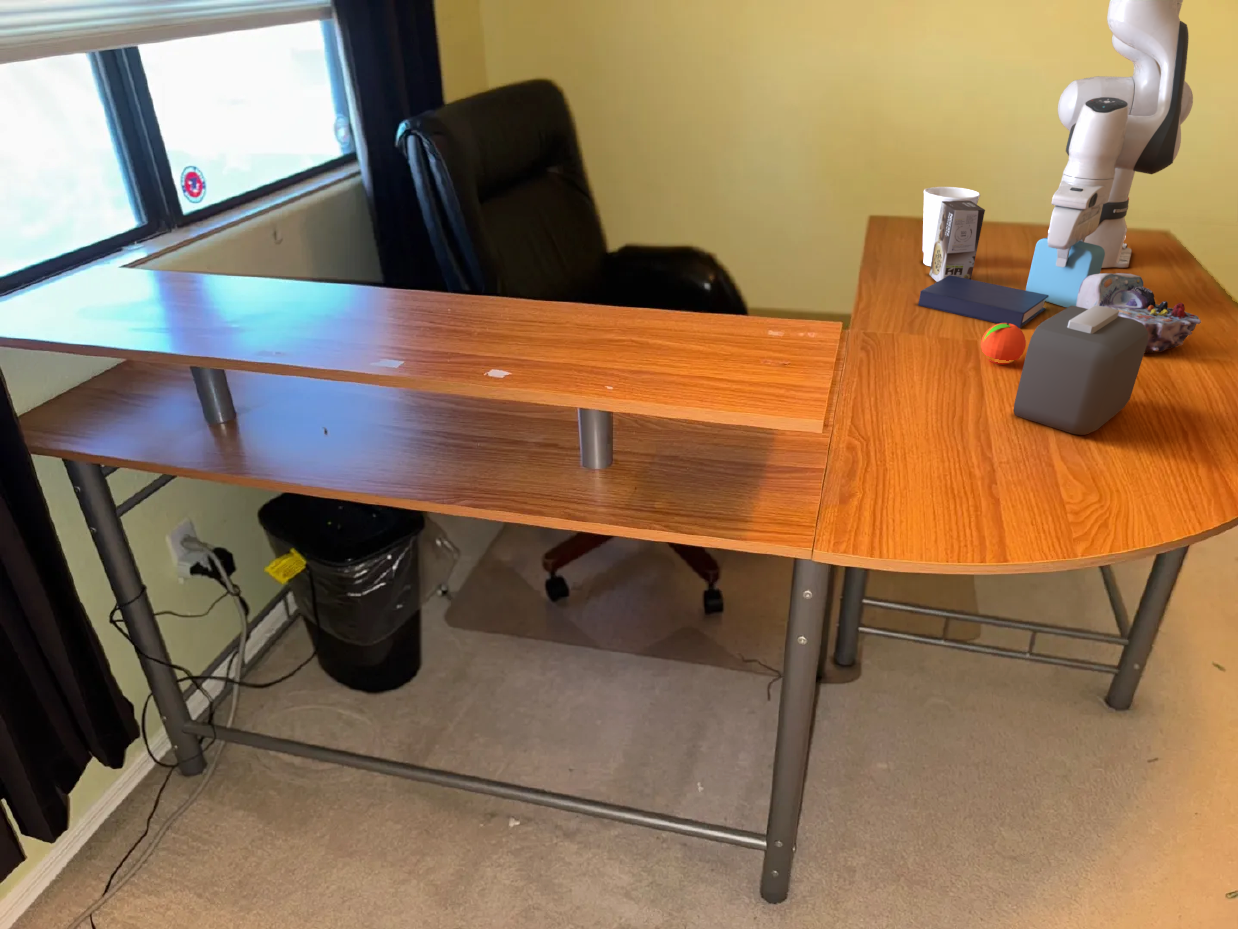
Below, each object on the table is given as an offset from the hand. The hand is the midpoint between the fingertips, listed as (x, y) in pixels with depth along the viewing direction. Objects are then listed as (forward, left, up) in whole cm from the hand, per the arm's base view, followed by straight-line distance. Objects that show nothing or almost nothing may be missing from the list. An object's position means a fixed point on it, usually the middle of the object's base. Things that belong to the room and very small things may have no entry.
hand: (1066, 262), depth 174 cm
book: (+14, -10, -8) cm, 19 cm away
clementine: (+41, +3, -8) cm, 42 cm away
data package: (0, 0, -8) cm, 8 cm away
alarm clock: (+54, +19, -8) cm, 58 cm away
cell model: (+14, +16, -8) cm, 23 cm away
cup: (-10, -29, -8) cm, 32 cm away
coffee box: (+1, -22, -8) cm, 23 cm away
